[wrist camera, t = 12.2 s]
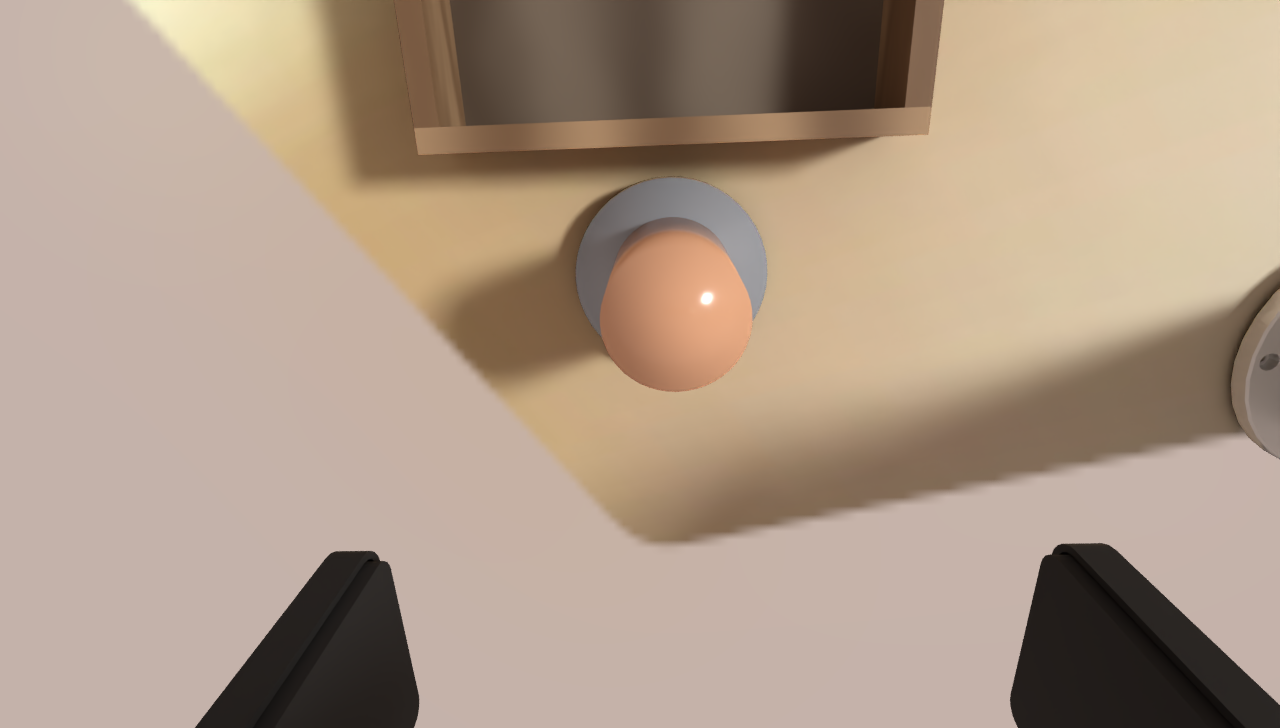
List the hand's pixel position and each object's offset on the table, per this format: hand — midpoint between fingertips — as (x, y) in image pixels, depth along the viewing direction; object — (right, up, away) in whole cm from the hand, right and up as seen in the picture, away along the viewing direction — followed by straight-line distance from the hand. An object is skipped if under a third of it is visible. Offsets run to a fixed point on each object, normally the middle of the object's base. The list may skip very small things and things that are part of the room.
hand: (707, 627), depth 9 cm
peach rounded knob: (+1, +8, +21) cm, 22 cm away
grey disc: (+1, +8, +21) cm, 23 cm away
